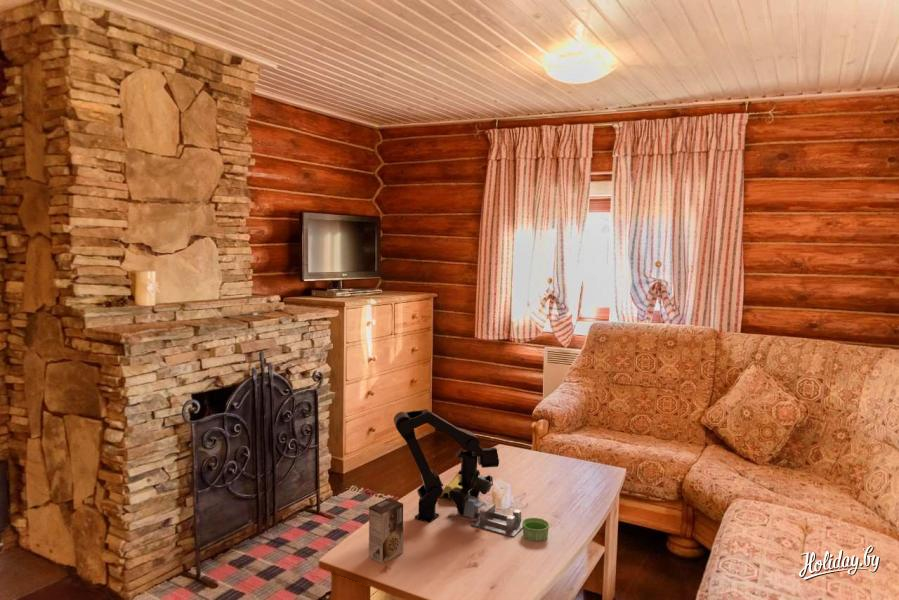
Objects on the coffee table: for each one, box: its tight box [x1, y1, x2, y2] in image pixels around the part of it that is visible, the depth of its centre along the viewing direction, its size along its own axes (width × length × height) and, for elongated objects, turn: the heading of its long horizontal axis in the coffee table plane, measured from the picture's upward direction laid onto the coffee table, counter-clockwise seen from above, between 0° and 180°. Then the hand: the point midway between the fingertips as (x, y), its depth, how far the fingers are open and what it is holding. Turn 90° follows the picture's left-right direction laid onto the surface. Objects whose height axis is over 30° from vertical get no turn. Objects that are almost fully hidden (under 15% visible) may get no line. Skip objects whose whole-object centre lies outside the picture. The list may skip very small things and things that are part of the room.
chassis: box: [470, 502, 526, 538], centre depth 212 cm, size 14×16×4 cm
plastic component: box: [439, 471, 470, 498], centre depth 239 cm, size 20×7×10 cm
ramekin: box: [522, 517, 550, 542], centre depth 204 cm, size 9×9×4 cm
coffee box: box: [368, 497, 404, 565], centre depth 188 cm, size 9×6×16 cm
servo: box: [451, 495, 485, 519], centre depth 219 cm, size 4×11×7 cm, turn 61°
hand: (467, 510), depth 219 cm, fingers open, 9 cm apart
